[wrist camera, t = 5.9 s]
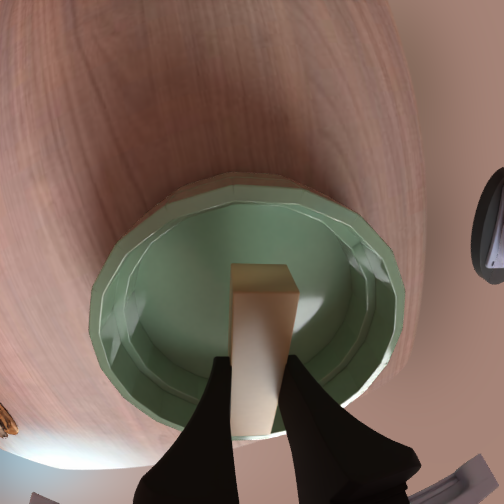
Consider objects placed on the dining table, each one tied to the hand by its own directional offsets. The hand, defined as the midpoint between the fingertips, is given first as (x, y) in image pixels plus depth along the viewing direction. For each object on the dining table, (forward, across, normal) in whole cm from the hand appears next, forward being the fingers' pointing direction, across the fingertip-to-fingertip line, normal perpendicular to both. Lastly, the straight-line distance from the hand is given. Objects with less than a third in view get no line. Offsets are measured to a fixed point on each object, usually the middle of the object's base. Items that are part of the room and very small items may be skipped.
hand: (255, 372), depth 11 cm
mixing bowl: (+6, 0, 0) cm, 6 cm away
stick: (+1, 0, 0) cm, 1 cm away
